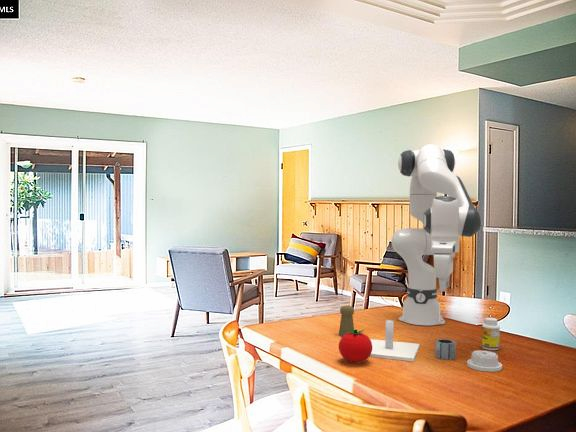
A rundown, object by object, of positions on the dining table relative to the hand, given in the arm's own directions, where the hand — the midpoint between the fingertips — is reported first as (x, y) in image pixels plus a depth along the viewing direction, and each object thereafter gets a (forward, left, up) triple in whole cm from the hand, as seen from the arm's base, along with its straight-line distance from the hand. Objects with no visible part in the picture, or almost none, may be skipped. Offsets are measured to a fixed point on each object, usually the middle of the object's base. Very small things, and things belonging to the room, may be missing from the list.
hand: (444, 289), depth 170 cm
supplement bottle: (-16, +15, -22) cm, 31 cm away
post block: (0, -17, -22) cm, 28 cm away
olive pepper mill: (-15, -35, -22) cm, 44 cm away
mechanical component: (+7, +12, -22) cm, 26 cm away
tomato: (+16, -25, -22) cm, 37 cm away
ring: (0, +1, -22) cm, 22 cm away
